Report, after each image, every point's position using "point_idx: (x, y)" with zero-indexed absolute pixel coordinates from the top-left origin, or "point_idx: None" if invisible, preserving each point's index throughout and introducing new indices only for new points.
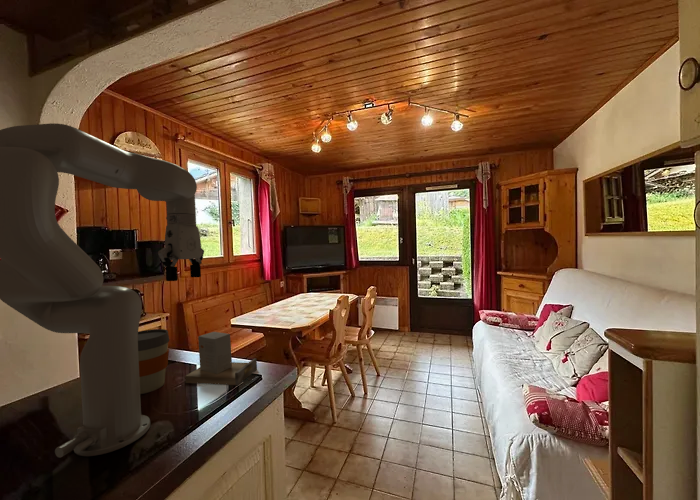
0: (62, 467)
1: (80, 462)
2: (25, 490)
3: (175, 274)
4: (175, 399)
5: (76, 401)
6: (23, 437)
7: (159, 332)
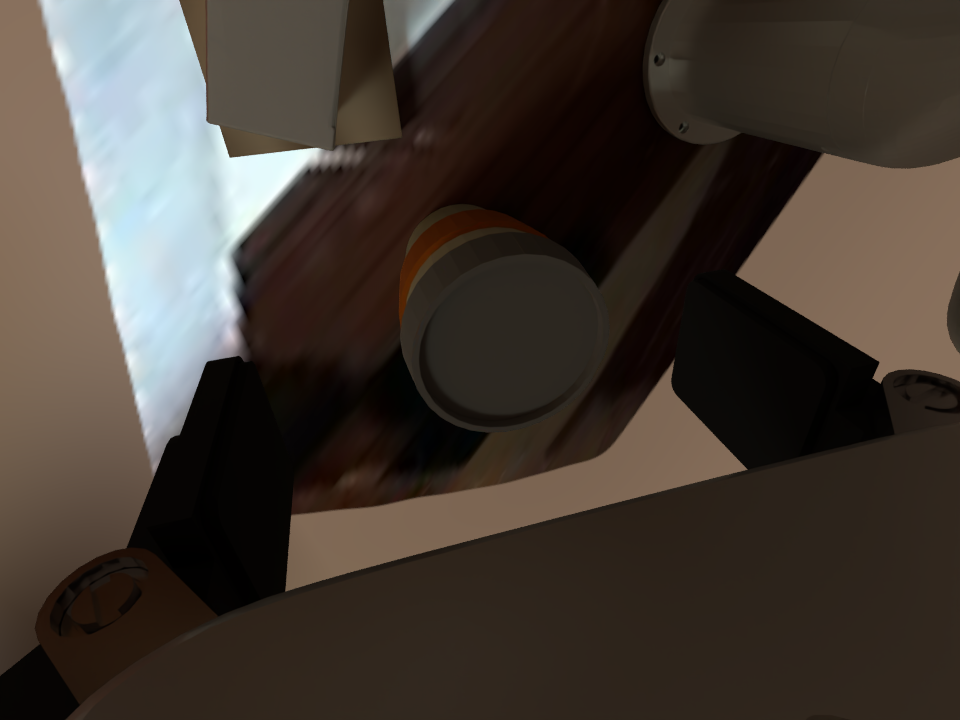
0: None
1: None
2: None
3: (777, 305)
4: (519, 49)
5: None
6: None
7: (428, 351)
